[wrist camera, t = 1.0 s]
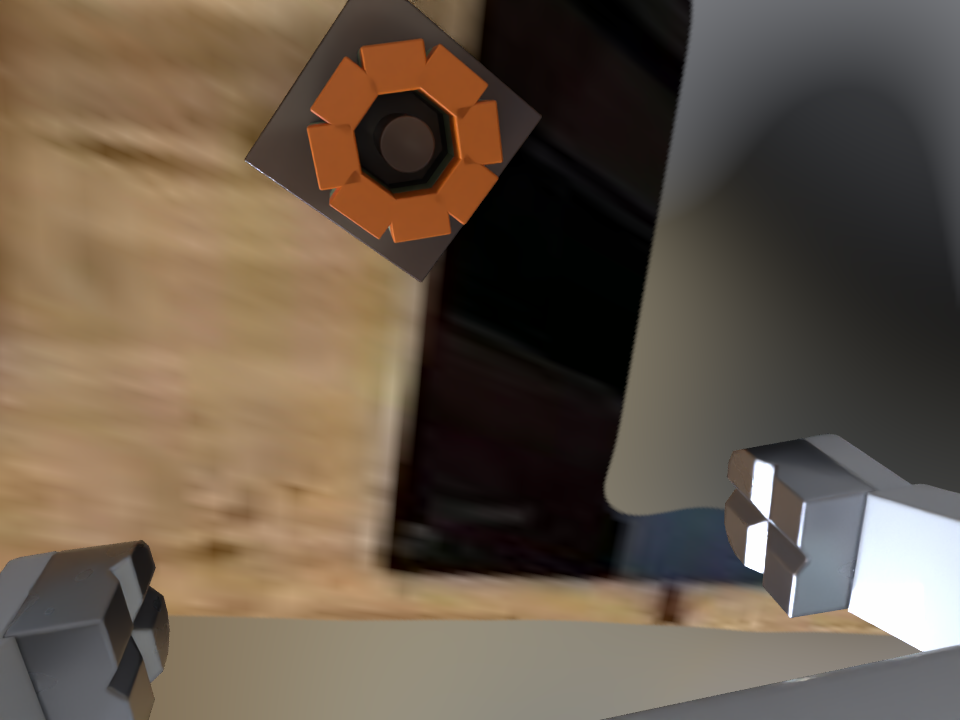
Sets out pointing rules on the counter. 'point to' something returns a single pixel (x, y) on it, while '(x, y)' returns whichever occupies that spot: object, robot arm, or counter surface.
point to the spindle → (380, 124)
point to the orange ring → (469, 131)
